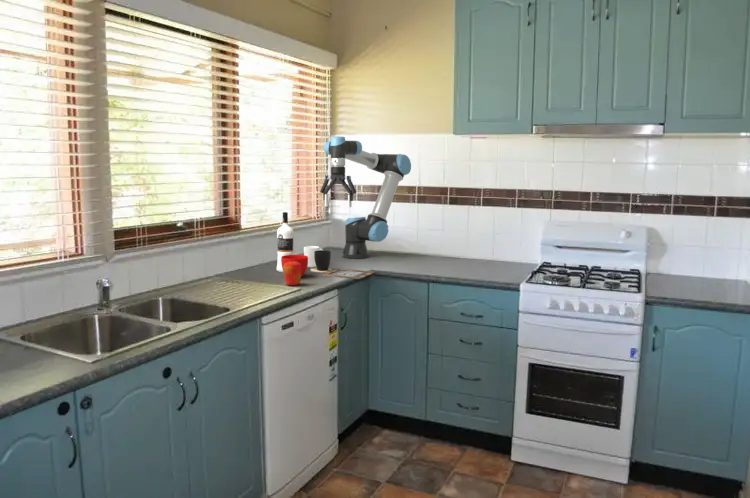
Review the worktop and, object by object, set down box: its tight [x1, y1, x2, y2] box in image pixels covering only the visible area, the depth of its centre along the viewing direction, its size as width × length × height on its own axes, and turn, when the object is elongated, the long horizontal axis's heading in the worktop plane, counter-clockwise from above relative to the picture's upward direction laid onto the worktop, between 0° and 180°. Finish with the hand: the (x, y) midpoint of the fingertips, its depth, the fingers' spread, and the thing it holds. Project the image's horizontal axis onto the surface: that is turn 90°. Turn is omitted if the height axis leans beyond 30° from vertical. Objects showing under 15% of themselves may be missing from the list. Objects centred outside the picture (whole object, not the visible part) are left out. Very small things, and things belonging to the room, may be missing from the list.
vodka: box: [276, 211, 295, 273], centre depth 315 cm, size 9×9×30 cm
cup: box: [303, 245, 324, 268], centre depth 334 cm, size 8×12×10 cm
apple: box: [283, 259, 302, 286], centre depth 283 cm, size 9×8×12 cm
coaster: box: [309, 267, 333, 274], centre depth 320 cm, size 11×11×1 cm
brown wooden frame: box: [320, 267, 376, 280], centre depth 311 cm, size 19×21×1 cm
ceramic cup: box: [281, 254, 308, 278], centre depth 303 cm, size 13×17×10 cm
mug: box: [314, 249, 332, 271], centre depth 319 cm, size 8×12×10 cm
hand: (338, 206), depth 331 cm, fingers open, 13 cm apart
